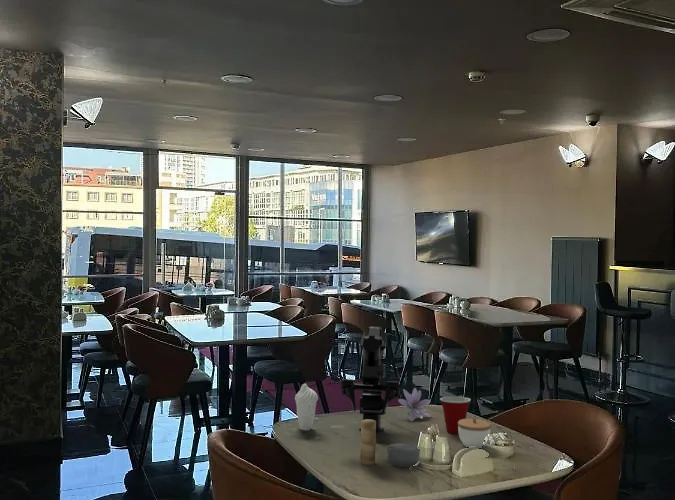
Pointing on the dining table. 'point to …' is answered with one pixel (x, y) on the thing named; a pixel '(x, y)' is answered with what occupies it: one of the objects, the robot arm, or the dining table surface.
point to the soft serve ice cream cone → (306, 407)
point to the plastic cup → (454, 411)
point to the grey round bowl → (402, 455)
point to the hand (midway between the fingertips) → (369, 411)
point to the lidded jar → (473, 431)
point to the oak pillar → (368, 442)
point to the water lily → (415, 404)
